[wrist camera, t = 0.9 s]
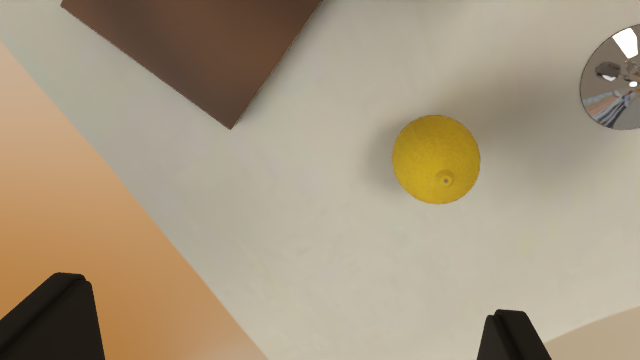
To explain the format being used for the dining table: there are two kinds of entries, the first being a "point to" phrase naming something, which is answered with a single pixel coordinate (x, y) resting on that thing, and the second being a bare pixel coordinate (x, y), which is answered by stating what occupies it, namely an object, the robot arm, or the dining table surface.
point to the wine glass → (614, 81)
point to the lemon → (436, 159)
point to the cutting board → (202, 43)
